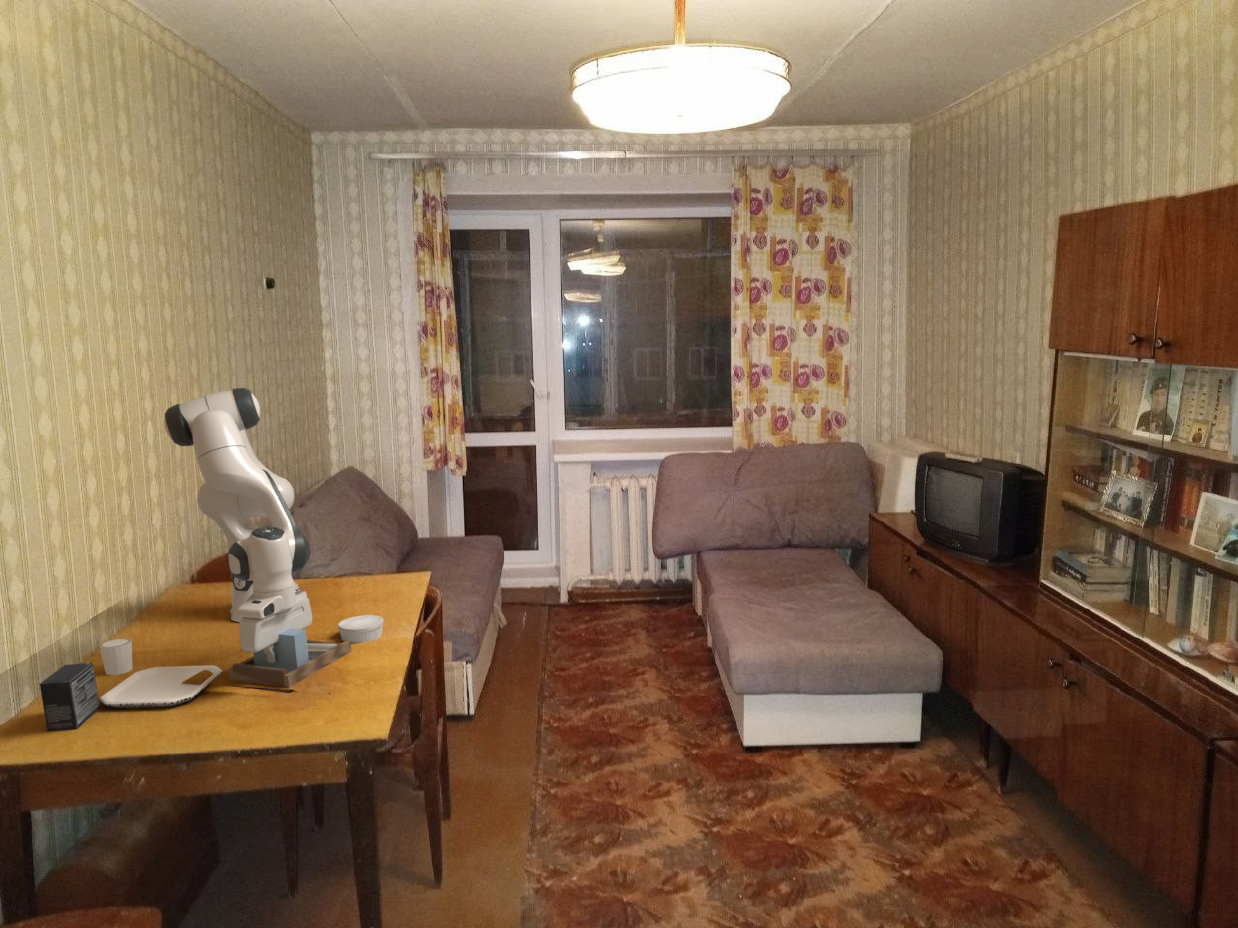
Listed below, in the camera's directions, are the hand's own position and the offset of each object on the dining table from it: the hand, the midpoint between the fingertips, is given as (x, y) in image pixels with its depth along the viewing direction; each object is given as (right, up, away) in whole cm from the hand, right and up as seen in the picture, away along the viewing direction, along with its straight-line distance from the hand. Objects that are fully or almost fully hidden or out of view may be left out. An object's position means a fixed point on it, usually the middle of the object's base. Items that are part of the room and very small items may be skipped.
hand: (281, 657), depth 214 cm
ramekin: (+12, -1, +23) cm, 26 cm away
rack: (+2, -4, +4) cm, 6 cm away
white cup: (-42, -5, +9) cm, 43 cm away
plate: (-24, -7, -5) cm, 26 cm away
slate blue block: (0, -5, +1) cm, 5 cm away
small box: (-37, -9, -18) cm, 42 cm away
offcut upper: (+4, -2, +10) cm, 11 cm away
